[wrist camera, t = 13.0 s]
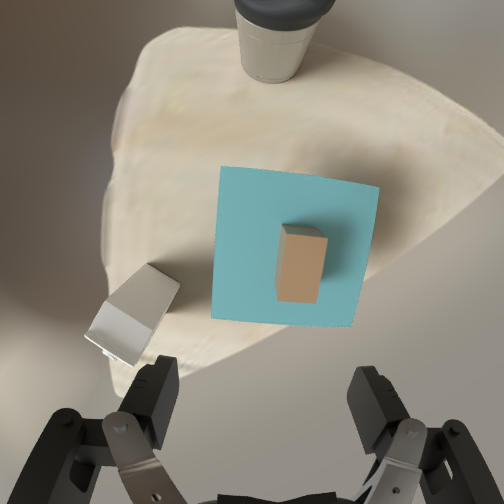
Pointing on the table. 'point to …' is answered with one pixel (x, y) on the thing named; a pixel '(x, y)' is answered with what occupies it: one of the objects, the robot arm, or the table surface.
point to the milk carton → (133, 315)
